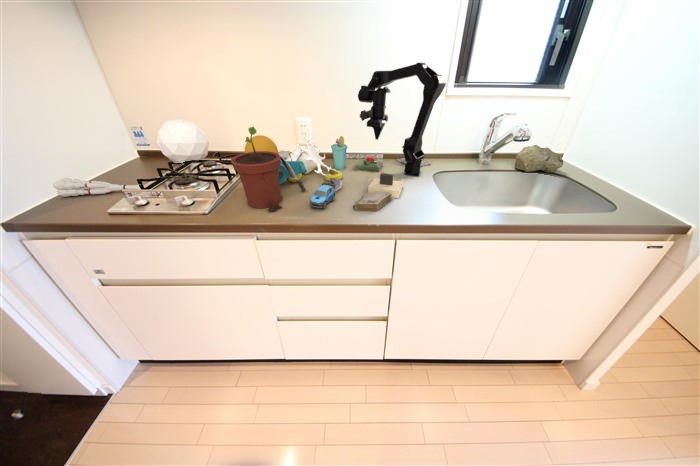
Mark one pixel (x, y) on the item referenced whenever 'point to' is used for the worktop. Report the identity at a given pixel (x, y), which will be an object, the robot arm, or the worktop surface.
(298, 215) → the worktop surface
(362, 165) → the box
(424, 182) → the worktop surface
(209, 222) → the worktop surface
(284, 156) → the seashell
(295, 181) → the fruit
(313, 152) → the white branched figurine
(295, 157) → the white small pieces
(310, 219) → the worktop surface
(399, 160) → the napkin holder
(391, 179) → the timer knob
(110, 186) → the rocket model
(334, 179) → the knife
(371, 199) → the stone
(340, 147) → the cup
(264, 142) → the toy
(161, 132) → the geometric form
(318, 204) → the toy car
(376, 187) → the panel
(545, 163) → the rock
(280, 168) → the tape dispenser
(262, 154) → the potted plant
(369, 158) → the power button
